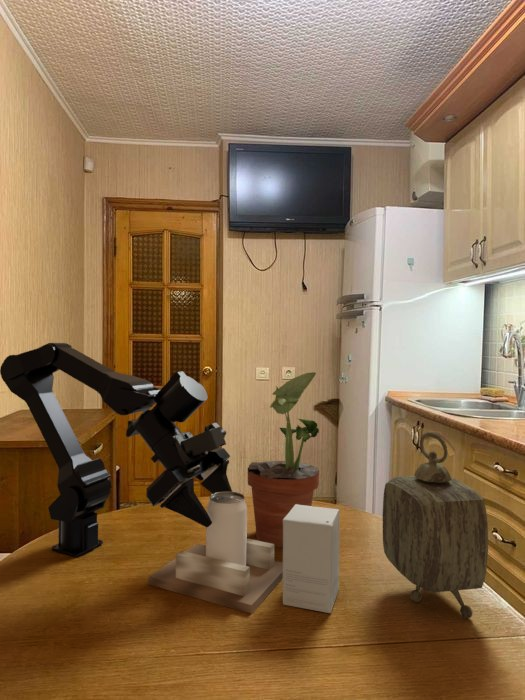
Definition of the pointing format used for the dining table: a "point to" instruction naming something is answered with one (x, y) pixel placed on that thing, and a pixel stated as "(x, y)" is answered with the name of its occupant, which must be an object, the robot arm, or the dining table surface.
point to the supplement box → (311, 557)
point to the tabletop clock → (436, 529)
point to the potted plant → (283, 470)
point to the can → (227, 527)
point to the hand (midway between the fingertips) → (223, 515)
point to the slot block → (222, 576)
